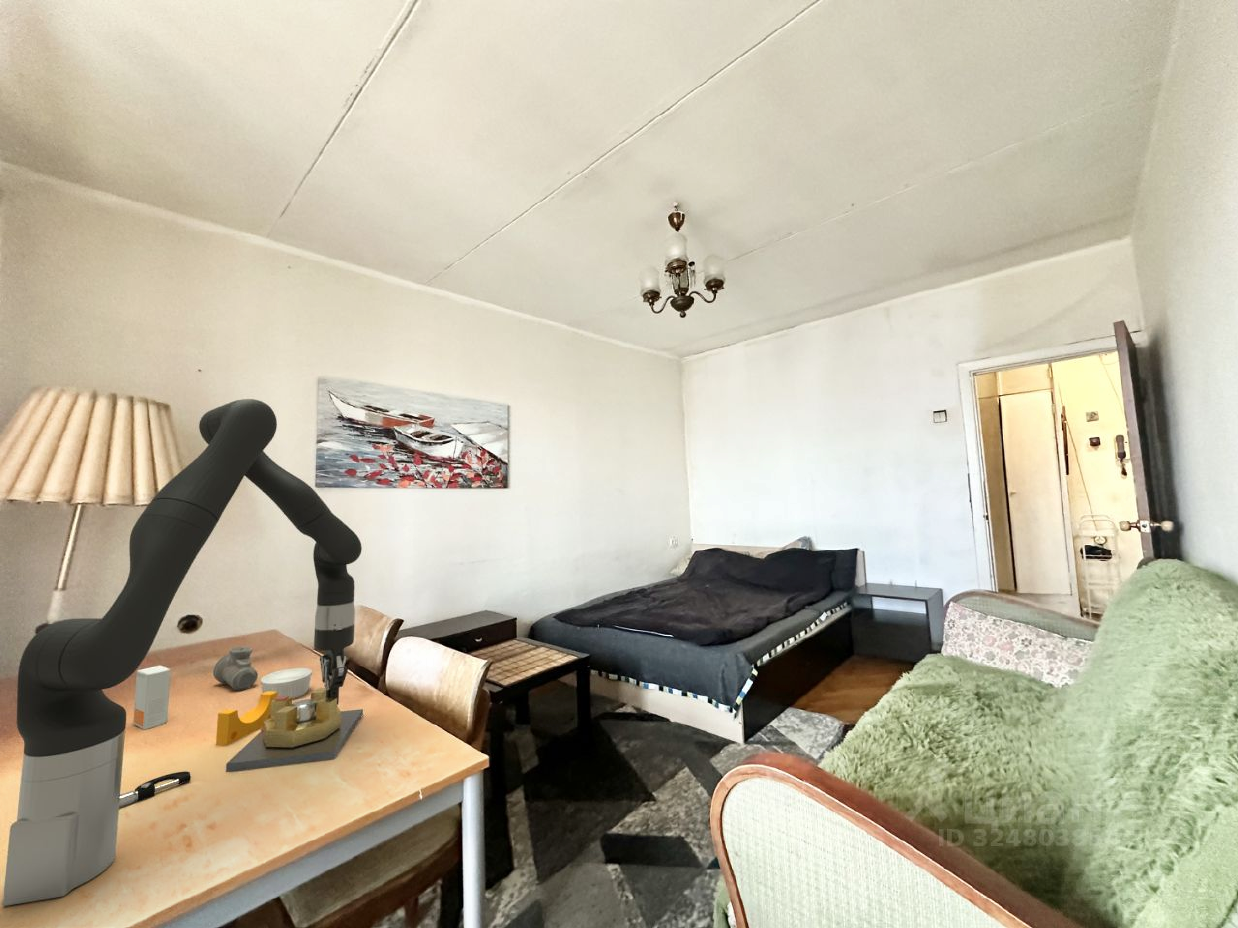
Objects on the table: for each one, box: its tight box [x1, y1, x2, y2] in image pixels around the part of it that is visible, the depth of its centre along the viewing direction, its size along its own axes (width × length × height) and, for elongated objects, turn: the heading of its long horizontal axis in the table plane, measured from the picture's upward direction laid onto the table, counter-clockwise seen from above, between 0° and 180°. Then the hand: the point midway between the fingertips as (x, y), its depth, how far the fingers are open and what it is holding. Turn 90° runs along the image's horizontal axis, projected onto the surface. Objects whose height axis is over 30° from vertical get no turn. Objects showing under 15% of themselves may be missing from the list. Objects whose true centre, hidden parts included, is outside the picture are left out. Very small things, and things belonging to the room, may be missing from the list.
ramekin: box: [260, 667, 313, 700], centre depth 125 cm, size 11×11×5 cm
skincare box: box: [132, 665, 172, 730], centre depth 110 cm, size 6×4×12 cm
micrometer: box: [119, 770, 192, 809], centre depth 82 cm, size 15×7×3 cm, turn 143°
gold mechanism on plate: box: [225, 698, 364, 773], centre depth 101 cm, size 20×18×8 cm
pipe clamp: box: [215, 691, 278, 747], centre depth 105 cm, size 12×4×6 cm, turn 172°
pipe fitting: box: [212, 645, 259, 691], centre depth 132 cm, size 12×8×10 cm
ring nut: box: [263, 687, 341, 747], centre depth 101 cm, size 13×13×7 cm
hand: (331, 705), depth 104 cm, fingers closed
